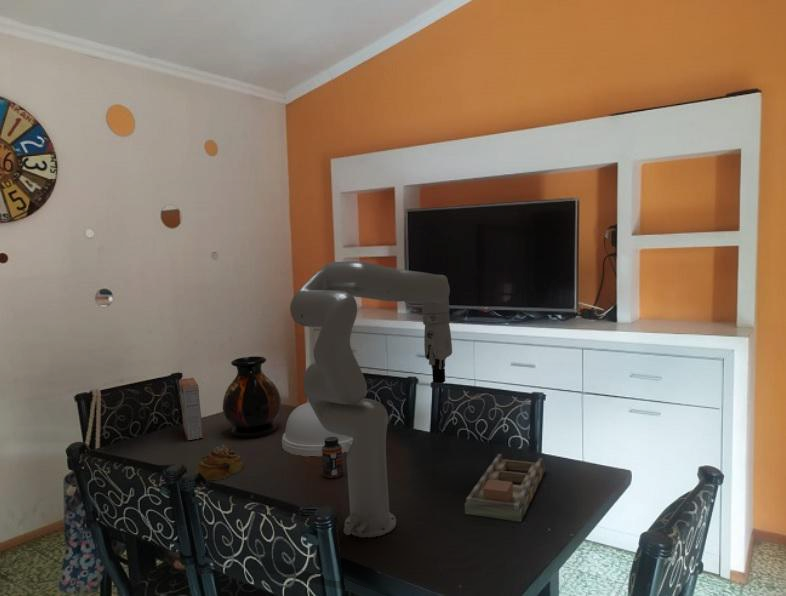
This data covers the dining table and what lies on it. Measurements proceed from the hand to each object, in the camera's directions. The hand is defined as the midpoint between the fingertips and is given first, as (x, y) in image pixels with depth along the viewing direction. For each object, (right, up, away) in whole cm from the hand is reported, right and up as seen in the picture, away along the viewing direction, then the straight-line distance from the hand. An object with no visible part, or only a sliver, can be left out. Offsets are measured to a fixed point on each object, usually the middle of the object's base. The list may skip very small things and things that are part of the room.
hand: (439, 382), depth 168 cm
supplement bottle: (-31, -30, +9) cm, 44 cm away
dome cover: (-37, -27, +40) cm, 61 cm away
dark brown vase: (-66, -27, +55) cm, 90 cm away
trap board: (+18, -28, -9) cm, 35 cm away
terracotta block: (+13, -27, -20) cm, 36 cm away
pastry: (-68, -31, +17) cm, 76 cm away
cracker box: (-89, -28, +55) cm, 109 cm away
